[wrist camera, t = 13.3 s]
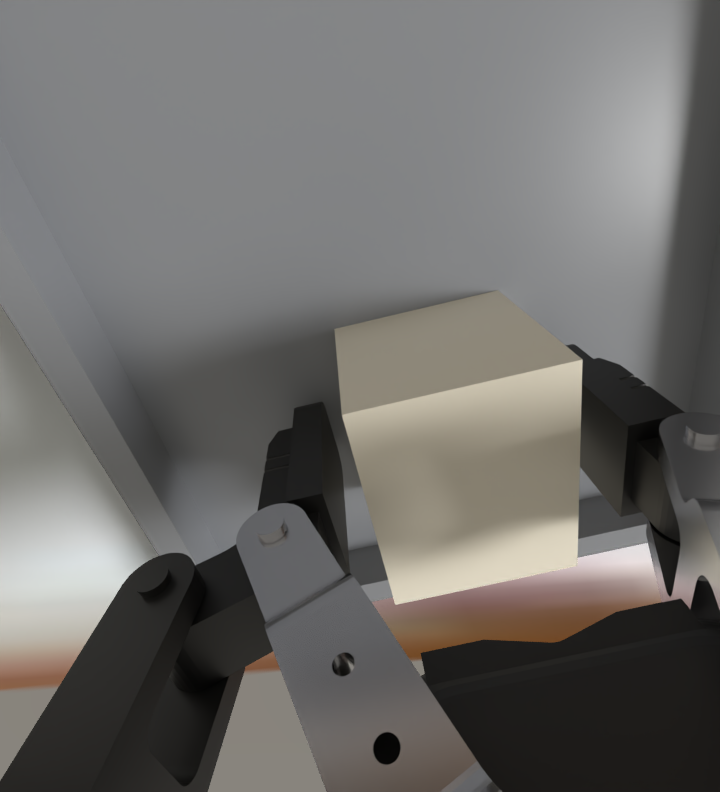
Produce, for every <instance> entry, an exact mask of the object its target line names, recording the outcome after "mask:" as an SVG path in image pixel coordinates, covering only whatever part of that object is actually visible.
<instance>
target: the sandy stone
mask: <svg viewBox="0 0 720 792" xmlns="http://www.w3.org/2000/svg"><path fill="white" fill-rule="evenodd" d="M334 330H335V342H336V353H337V365H338V377H339V388H340V400H341V411H342V417H343V421H344V424H345V428H346V432H347V435H348V439H349V442H350V446H351V449H352V453H353V456H354V460H355V464H356V467H357V471H358V474H359V478H360V481H361V485H362V488H363V492H364V495H365V499H366V503H367V506H368V510H369V513H370V517H371V520H372V524H373V527H374V531H375V535H376V538H377V542H378V545H379V549H380V552H381V556H382V559H383V563H384V566H385V570H386V574H387V577H388V581H389V584H390V588H391V591H392V595H393V598H394V602H395V605H397V604H401V603H406V602H411V601H416V600H420V599H425V598H430V597H434V596H439V595H444V594H448V593H453V592H458V591H462V590H467V589H472V588H476V587H481V586H486V585H490V584H495V583H500V582H504V581H509V580H514V579H518V578H523V577H528V576H532V575H537V574H542V573H547V572H551V571H556V570H561V569H565V568H570V567H575V566H577V558H578V519H579V479H580V440H581V401H582V362H583V359H581V358H580V357H579V356H578V355H576V354H575V353H574V352H573V351H572V350H570V349H569V348H568V347H567V346H565V345H564V344H563V343H562V342H561V341H559V340H558V339H557V338H556V337H554V336H553V335H552V334H551V333H550V332H548V331H547V330H546V329H545V328H543V327H542V326H541V325H540V324H539V323H537V322H536V321H535V320H534V319H532V318H531V317H530V316H529V315H528V314H526V313H525V312H524V311H523V310H521V309H520V308H519V307H518V306H517V305H515V304H514V303H513V302H512V301H510V300H509V299H508V298H507V297H506V296H504V295H503V294H502V293H501V292H499V291H498V290H497V291H493V292H488V293H484V294H480V295H476V296H471V297H467V298H463V299H459V300H455V301H450V302H446V303H442V304H438V305H434V306H429V307H425V308H421V309H417V310H412V311H408V312H404V313H400V314H396V315H391V316H387V317H383V318H379V319H374V320H370V321H366V322H362V323H358V324H353V325H349V326H345V327H341V328H336V329H334Z"/></svg>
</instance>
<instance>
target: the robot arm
mask: <svg viewBox="0 0 720 792" xmlns="http://www.w3.org/2000/svg"><path fill="white" fill-rule="evenodd" d="M565 346H567V347H568V348H569V349H570V350H572V351H573V352H574V353H575V354H576V355H578V356H579V357H580V358H581V359H583V362H582V401H581V440H580V468H581V469H582V470H583V471H584V472H585V474H586V475H587V476H588V477H589V479H590V480H591V481H592V482H593V484H594V485H595V486H596V487H597V489H598V490H599V491H600V492H601V493H602V495H603V496H604V497H605V498H606V500H607V501H608V502H609V503H610V505H611V506H612V507H613V508H614V510H615V511H616V512H617V513H618V514H619V516H620V517H623V516H627V515H632V514H637V513H641V512H642V513H643V514H644V515H645V516H646V517H647V527H646V536H647V540H648V545H649V549H650V553H651V558H652V562H653V566H654V571H655V575H656V579H657V584H658V588H659V592H660V597H661V601H662V603H657V604H652V605H647V606H643V607H638V608H633V609H628V610H624V611H619V612H615V613H614V614H612V615H610V616H608V617H606V618H604V619H602V620H600V621H598V622H597V623H595V624H593V625H591V626H589V627H587V628H585V629H583V630H582V631H580V632H578V633H576V634H574V635H572V636H570V637H568V638H567V639H565V640H562V641H560V642H555V643H544V642H522V641H499V640H481V641H476V642H471V643H466V644H462V645H457V646H452V647H447V648H443V649H438V650H433V651H428V652H423V653H421V657H422V661H423V666H424V671H425V674H424V675H422V676H420V674H419V673H418V671H417V670H416V668H415V667H414V666H413V664H412V662H411V661H410V659H409V658H408V656H407V655H406V653H405V652H404V650H403V649H402V647H401V646H400V644H399V643H398V641H397V640H396V638H395V637H394V635H393V634H392V632H391V631H390V629H389V628H388V626H387V625H386V623H385V622H384V620H383V619H382V617H381V616H380V614H379V613H378V611H377V610H376V608H375V607H374V605H373V604H372V602H371V601H370V599H369V598H368V596H367V595H366V593H365V592H364V590H363V589H362V587H361V586H360V584H359V583H358V582H357V580H356V579H355V578H354V576H353V575H352V574H351V573H350V565H349V552H348V538H347V525H346V511H345V498H344V484H343V472H342V465H341V460H340V456H339V452H338V448H337V445H336V441H335V438H334V435H333V431H332V428H331V425H330V422H329V418H328V415H327V412H326V408H325V406H324V403H323V402H317V403H313V404H309V405H304V406H300V407H296V408H294V414H293V425H292V428H289V429H285V430H281V431H278V432H277V434H276V435H275V436H274V438H273V439H272V440H271V442H270V443H269V445H268V450H267V456H266V460H267V461H266V462H265V468H264V471H265V473H264V474H263V480H262V486H261V492H260V498H259V504H258V510H257V512H256V513H254V514H253V515H252V516H250V517H249V518H248V519H247V520H246V521H245V522H244V523H243V525H242V526H241V528H240V529H239V531H238V534H237V537H236V544H235V545H234V546H232V547H231V548H229V549H228V550H226V551H224V552H222V553H220V554H218V555H216V556H214V557H212V558H210V559H208V560H205V561H203V562H201V563H199V564H197V565H195V564H194V562H193V561H192V559H191V558H190V557H189V556H188V555H185V554H183V553H167V554H164V555H160V556H158V557H156V558H153V559H151V560H150V561H148V562H146V563H145V564H143V565H142V566H140V567H139V568H138V569H137V570H135V571H134V572H133V573H132V574H131V575H130V576H129V577H128V578H127V580H126V581H125V582H124V584H123V585H122V586H121V588H120V590H119V591H118V593H117V594H116V596H115V598H114V599H113V601H112V603H111V604H110V606H109V607H108V609H107V611H106V612H105V614H104V615H103V617H102V619H101V620H100V622H99V623H98V625H97V627H96V628H95V630H94V631H93V633H92V635H91V636H90V638H89V639H88V641H87V643H86V644H85V646H84V647H83V649H82V651H81V652H80V654H79V655H78V657H77V659H76V660H75V662H74V663H73V665H72V667H71V668H70V670H69V672H68V673H67V675H66V676H65V678H64V680H63V681H62V683H61V684H60V686H59V688H58V689H57V691H56V692H55V694H54V696H53V697H52V699H51V700H50V702H49V704H48V705H47V707H46V708H45V710H44V712H43V713H42V715H41V716H40V718H39V720H38V721H37V723H36V724H35V726H34V728H33V729H32V731H31V733H30V734H29V736H28V738H27V739H26V741H25V742H24V744H23V745H22V747H21V749H20V750H19V752H18V753H17V755H16V757H15V758H14V760H13V761H12V763H11V765H10V766H9V768H8V770H7V771H6V773H5V774H4V776H3V778H2V779H1V781H0V792H208V789H209V785H210V782H211V778H212V775H213V772H214V769H215V766H216V762H217V759H218V756H219V752H220V749H221V746H222V743H223V739H224V736H225V733H226V729H227V726H228V723H229V720H230V716H231V713H232V710H233V707H234V703H235V700H236V696H237V693H238V690H239V687H240V683H241V680H242V677H243V674H244V670H245V667H246V666H247V665H249V664H251V663H253V662H254V661H256V660H258V659H260V658H262V657H263V656H265V655H267V654H269V653H271V652H272V651H274V654H275V657H276V659H277V662H278V665H279V667H280V670H281V672H282V675H283V678H284V680H285V683H286V685H287V688H288V691H289V693H290V696H291V699H292V701H293V704H294V707H295V709H296V712H297V715H298V717H299V720H300V723H301V725H302V728H303V731H304V733H305V736H306V738H307V741H308V743H309V746H310V749H311V752H312V754H313V757H314V759H315V762H316V765H317V768H318V770H319V773H320V775H321V778H322V781H323V783H324V785H325V789H326V791H327V792H720V415H716V414H711V413H703V412H686V413H685V412H684V411H683V410H681V409H680V408H678V407H677V406H676V405H674V404H673V403H672V402H670V401H669V400H668V399H666V398H665V397H663V396H662V395H661V394H659V393H658V392H657V391H655V390H654V389H652V388H651V387H650V386H646V383H644V382H643V381H642V380H640V379H639V378H637V377H634V375H633V374H632V373H631V372H629V371H628V370H627V369H625V368H624V367H622V366H621V365H619V364H617V363H614V362H611V361H608V360H605V359H602V358H596V359H593V358H592V357H590V356H589V355H588V354H587V353H585V352H584V351H583V350H581V349H580V348H579V347H578V346H576V345H575V344H570V345H565Z"/></svg>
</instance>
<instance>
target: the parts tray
mask: <svg viewBox="0 0 720 792" xmlns="http://www.w3.org/2000/svg"><path fill="white" fill-rule="evenodd" d="M497 290H498V291H499V292H501V293H502V294H503V295H504V296H506V297H507V298H508V299H509V300H510V301H512V302H513V303H514V304H515V305H517V306H518V307H519V308H520V309H521V310H523V311H524V312H525V313H526V314H528V315H529V316H530V317H531V318H532V319H534V320H535V321H536V322H537V323H539V324H540V325H541V326H542V327H543V328H545V329H546V330H547V331H548V332H550V333H551V334H552V335H553V336H554V337H556V338H557V339H558V340H559V341H561V342H562V343H563V344H564V345H570V344H575V345H576V346H578V347H579V348H580V349H581V350H583V351H584V352H585V353H587V354H588V355H589V356H590V357H592V358H593V359H596V358H602V359H605V360H608V361H611V362H614V363H617V364H619V365H621V366H622V367H624V368H625V369H627V370H628V371H629V372H631V373H632V374H633V375H634V377H637V378H639V379H640V380H642V381H643V382H644V383H646V386H650V387H651V388H652V389H654V390H655V391H657V392H658V393H659V394H661V395H662V396H663V397H665V398H666V399H668V400H669V401H670V402H672V403H673V404H674V405H676V406H677V407H678V408H680V409H681V410H683V411H684V412H685V413H686V412H703V413H711V414H716V415H720V0H0V304H1V306H2V308H3V309H4V311H5V312H6V314H7V316H8V317H9V319H10V320H11V322H12V324H13V325H14V327H15V328H16V330H17V331H18V333H19V335H20V336H21V338H22V339H23V341H24V343H25V344H26V346H27V347H28V349H29V350H30V352H31V354H32V355H33V357H34V358H35V360H36V362H37V363H38V365H39V366H40V368H41V370H42V371H43V373H44V374H45V376H46V377H47V379H48V381H49V382H50V384H51V385H52V387H53V389H54V390H55V392H56V393H57V395H58V396H59V398H60V400H61V401H62V403H63V404H64V406H65V408H66V409H67V411H68V412H69V414H70V416H71V417H72V419H73V420H74V422H75V423H76V425H77V427H78V428H79V430H80V431H81V433H82V435H83V436H84V438H85V439H86V441H87V442H88V444H89V446H90V447H91V449H92V450H93V452H94V454H95V455H96V457H97V458H98V460H99V462H100V463H101V465H102V466H103V468H104V469H105V471H106V473H107V474H108V476H109V477H110V479H111V481H112V482H113V484H114V485H115V487H116V488H117V490H118V492H119V493H120V495H121V496H122V498H123V500H124V501H125V503H126V504H127V506H128V508H129V509H130V511H131V512H132V514H133V515H134V517H135V519H136V520H137V522H138V523H139V525H140V527H141V528H142V530H143V531H144V533H145V534H146V536H147V538H148V539H149V541H150V542H151V544H152V546H153V547H154V549H155V550H156V552H157V554H158V555H159V556H160V555H164V554H167V553H183V554H185V555H188V556H189V557H190V558H191V559H192V561H193V562H194V564H195V565H197V564H199V563H201V562H203V561H205V560H208V559H210V558H212V557H214V556H216V555H218V554H220V553H222V552H224V551H226V550H228V549H229V548H231V547H232V546H234V545H235V544H236V537H237V534H238V531H239V529H240V528H241V526H242V525H243V523H244V522H245V521H246V520H247V519H248V518H249V517H250V516H252V515H253V514H254V513H256V512H257V510H258V504H259V498H260V492H261V486H262V480H263V474H264V473H265V471H264V468H265V462H266V461H267V460H266V456H267V450H268V445H269V443H270V442H271V440H272V439H273V438H274V436H275V435H276V434H277V432H278V431H281V430H285V429H289V428H292V425H293V414H294V408H296V407H300V406H304V405H309V404H313V403H317V402H323V403H324V406H325V408H326V412H327V415H328V418H329V422H330V425H331V428H332V431H333V435H334V438H335V441H336V445H337V448H338V452H339V456H340V460H341V465H342V472H343V484H344V498H345V511H346V525H347V538H348V552H349V565H350V573H351V574H352V575H353V576H354V578H355V579H356V580H357V582H358V583H359V584H360V586H361V587H362V589H363V590H364V592H365V593H366V595H367V596H368V598H369V599H370V601H371V602H373V601H378V600H382V599H387V598H392V597H393V595H392V591H391V588H390V584H389V581H388V577H387V574H386V570H385V566H384V563H383V559H382V556H381V552H380V549H379V545H378V542H377V538H376V535H375V531H374V527H373V524H372V520H371V517H370V513H369V510H368V506H367V503H366V499H365V495H364V492H363V488H362V485H361V481H360V478H359V474H358V471H357V467H356V464H355V460H354V456H353V453H352V449H351V446H350V442H349V439H348V435H347V432H346V428H345V424H344V421H343V417H342V411H341V400H340V388H339V377H338V365H337V353H336V342H335V330H334V329H336V328H341V327H345V326H349V325H353V324H358V323H362V322H366V321H370V320H374V319H379V318H383V317H387V316H391V315H396V314H400V313H404V312H408V311H412V310H417V309H421V308H425V307H429V306H434V305H438V304H442V303H446V302H450V301H455V300H459V299H463V298H467V297H471V296H476V295H480V294H484V293H488V292H493V291H497ZM646 527H647V517H646V516H645V515H644V514H643V513H642V512H641V513H637V514H632V515H627V516H623V517H620V516H619V514H618V513H617V512H616V511H615V510H614V508H613V507H612V506H611V505H610V503H609V502H608V501H607V500H606V498H605V497H604V496H603V495H602V493H601V492H600V491H599V490H598V489H597V487H596V486H595V485H594V484H593V482H592V481H591V480H590V479H589V477H588V476H587V475H586V474H585V472H584V471H583V470H582V469H581V468H580V479H579V519H578V557H583V556H587V555H592V554H597V553H601V552H606V551H611V550H615V549H620V548H625V547H629V546H634V545H639V544H643V543H648V540H647V536H646Z"/></svg>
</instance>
